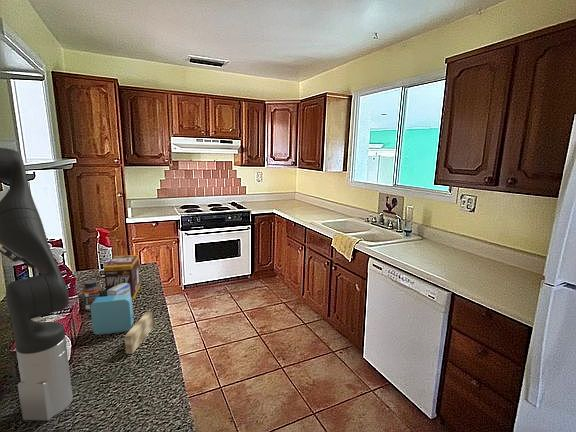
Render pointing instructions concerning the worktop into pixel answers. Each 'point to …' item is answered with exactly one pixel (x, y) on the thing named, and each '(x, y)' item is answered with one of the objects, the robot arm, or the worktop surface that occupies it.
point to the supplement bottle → (90, 293)
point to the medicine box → (119, 290)
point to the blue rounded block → (112, 314)
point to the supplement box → (123, 273)
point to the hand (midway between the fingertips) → (42, 262)
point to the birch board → (139, 332)
